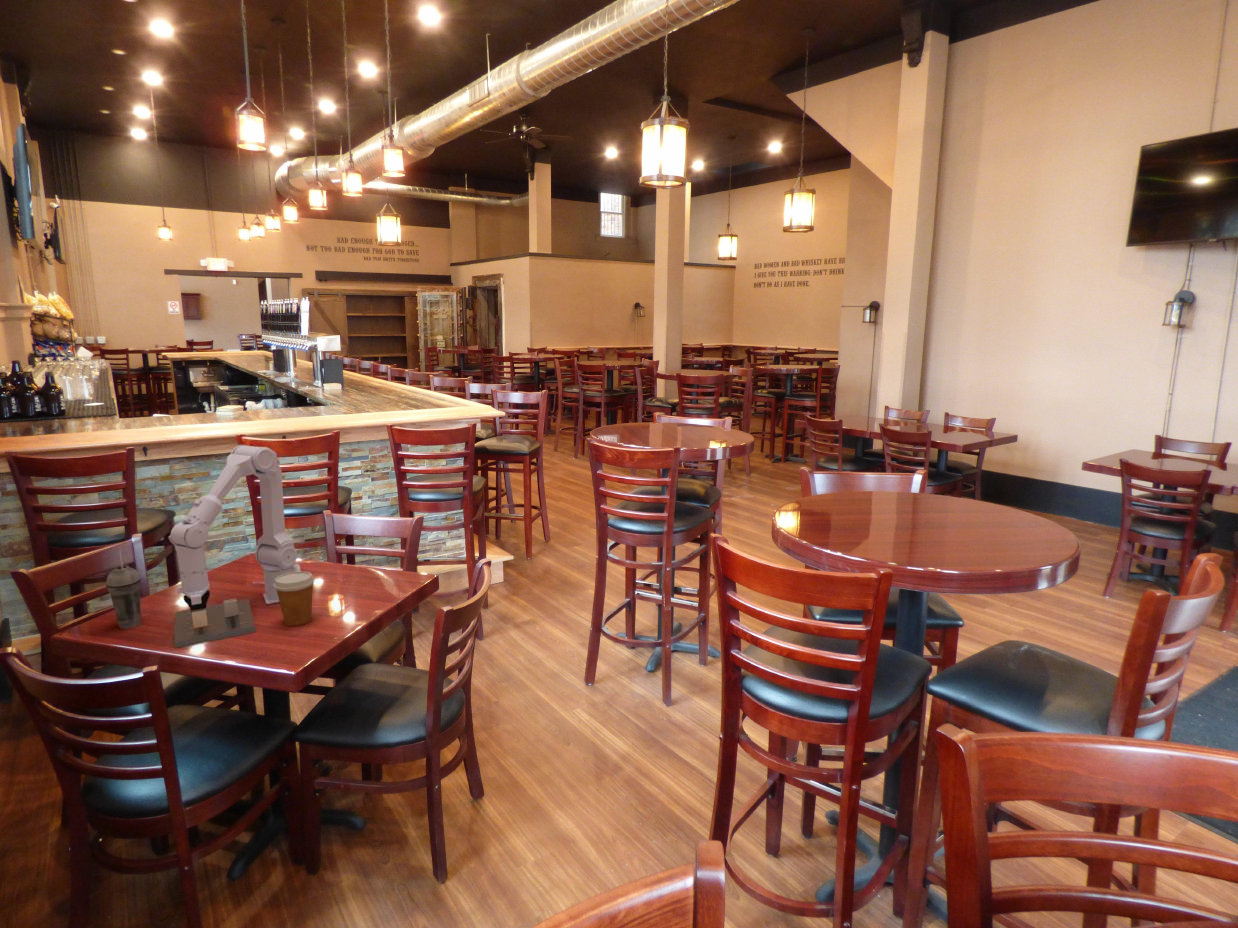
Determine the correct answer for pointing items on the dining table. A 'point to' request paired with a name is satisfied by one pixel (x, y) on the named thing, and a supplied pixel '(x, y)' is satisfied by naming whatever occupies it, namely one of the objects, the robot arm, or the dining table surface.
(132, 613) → the beverage cup
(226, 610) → the fader cap grey
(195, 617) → the fader cap ivory
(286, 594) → the disposable coffee cup
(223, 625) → the mixing console
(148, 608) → the dining table surface
